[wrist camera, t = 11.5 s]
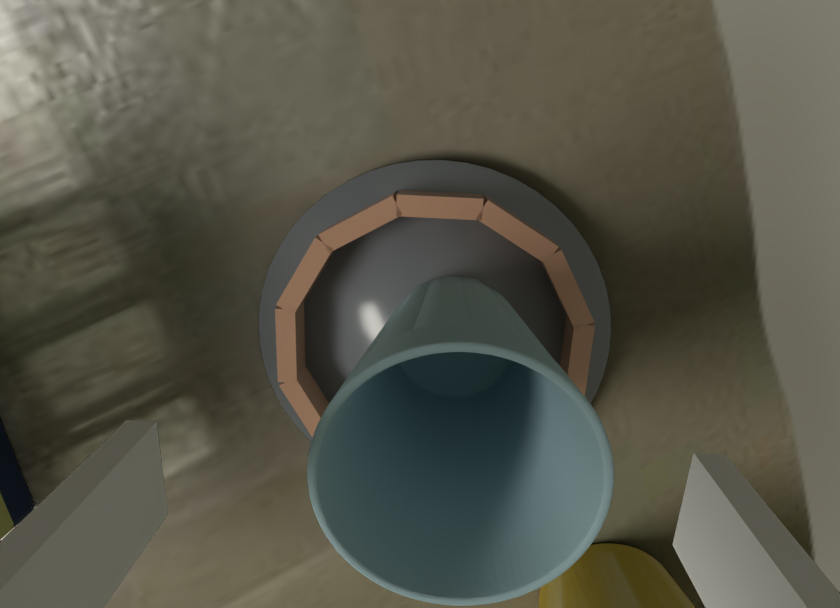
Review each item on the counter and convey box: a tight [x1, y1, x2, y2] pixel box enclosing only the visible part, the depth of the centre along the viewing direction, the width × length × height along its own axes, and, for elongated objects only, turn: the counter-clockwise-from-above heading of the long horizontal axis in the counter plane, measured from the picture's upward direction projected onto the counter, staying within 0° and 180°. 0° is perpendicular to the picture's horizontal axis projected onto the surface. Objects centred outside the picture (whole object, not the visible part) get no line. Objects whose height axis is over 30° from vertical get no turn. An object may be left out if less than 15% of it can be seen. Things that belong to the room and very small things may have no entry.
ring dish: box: [259, 159, 611, 442], centre depth 24 cm, size 15×15×2 cm
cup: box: [307, 276, 614, 606], centre depth 19 cm, size 8×8×10 cm
